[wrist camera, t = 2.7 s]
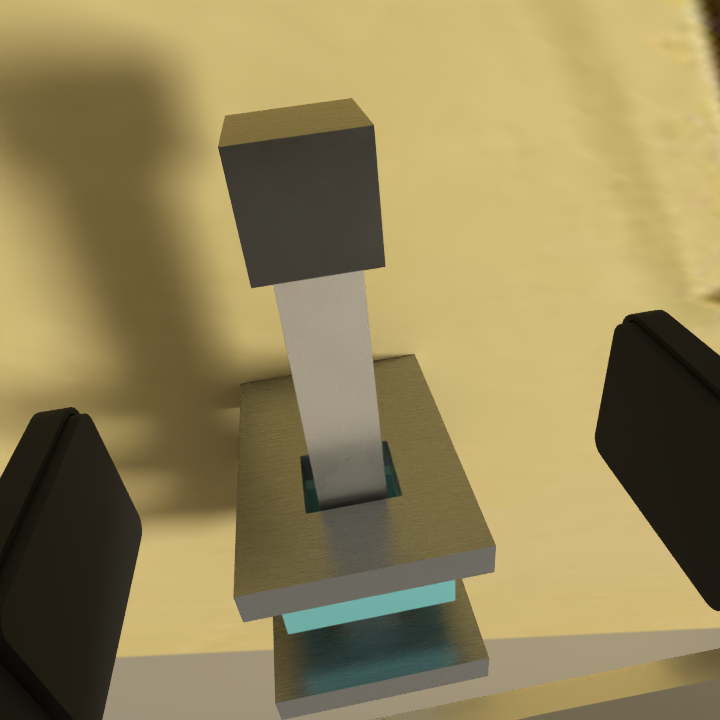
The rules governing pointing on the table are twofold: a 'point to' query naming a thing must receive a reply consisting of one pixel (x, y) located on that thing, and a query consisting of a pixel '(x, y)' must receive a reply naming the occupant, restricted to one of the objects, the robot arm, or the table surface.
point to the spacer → (370, 604)
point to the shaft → (317, 272)
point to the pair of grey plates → (358, 550)
